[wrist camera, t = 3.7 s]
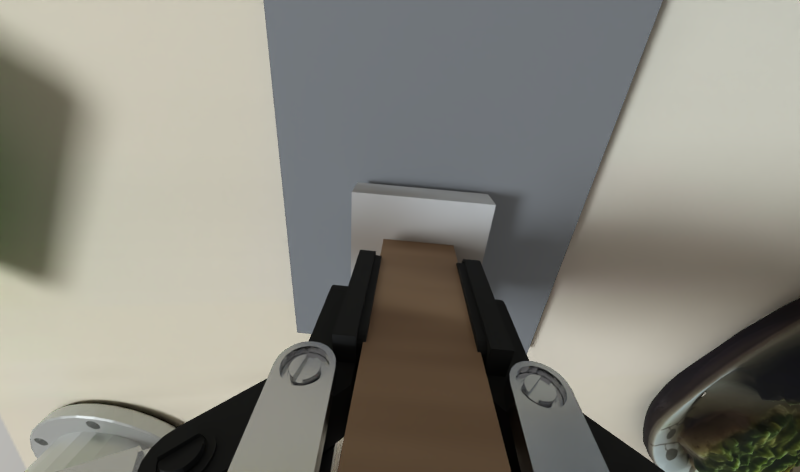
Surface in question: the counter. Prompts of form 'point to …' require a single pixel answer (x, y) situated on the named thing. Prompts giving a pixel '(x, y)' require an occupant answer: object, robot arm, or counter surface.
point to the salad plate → (734, 404)
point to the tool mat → (448, 123)
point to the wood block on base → (421, 337)
